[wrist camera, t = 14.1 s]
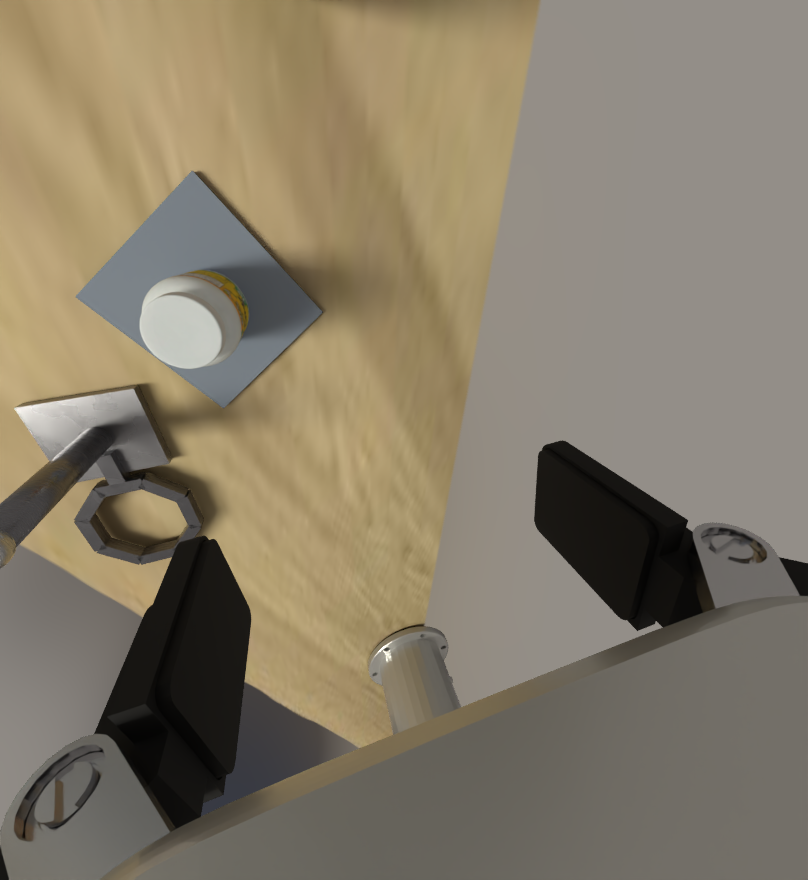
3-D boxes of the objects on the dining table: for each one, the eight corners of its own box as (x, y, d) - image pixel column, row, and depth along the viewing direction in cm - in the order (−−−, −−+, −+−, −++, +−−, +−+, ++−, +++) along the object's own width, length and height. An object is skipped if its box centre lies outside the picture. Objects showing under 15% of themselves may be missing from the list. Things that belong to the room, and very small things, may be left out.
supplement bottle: (174, 259, 26) (122, 264, 18) (254, 282, 28) (241, 296, 20) (170, 334, 28) (122, 369, 20) (245, 350, 30) (230, 388, 22)
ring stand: (214, 534, 37) (174, 685, 24) (117, 558, 35) (17, 735, 22) (144, 383, 29) (29, 487, 16) (14, 404, 27) (-233, 539, 14)
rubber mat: (322, 311, 30) (322, 312, 30) (224, 406, 32) (223, 408, 31) (193, 171, 24) (192, 170, 24) (78, 296, 26) (75, 296, 25)
